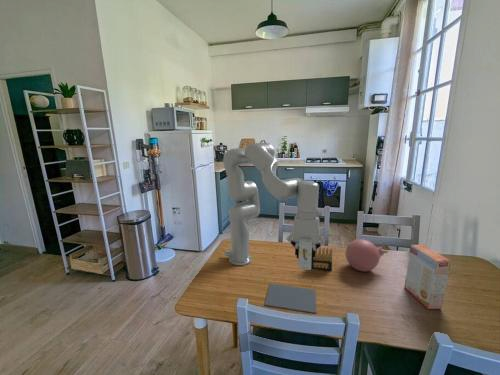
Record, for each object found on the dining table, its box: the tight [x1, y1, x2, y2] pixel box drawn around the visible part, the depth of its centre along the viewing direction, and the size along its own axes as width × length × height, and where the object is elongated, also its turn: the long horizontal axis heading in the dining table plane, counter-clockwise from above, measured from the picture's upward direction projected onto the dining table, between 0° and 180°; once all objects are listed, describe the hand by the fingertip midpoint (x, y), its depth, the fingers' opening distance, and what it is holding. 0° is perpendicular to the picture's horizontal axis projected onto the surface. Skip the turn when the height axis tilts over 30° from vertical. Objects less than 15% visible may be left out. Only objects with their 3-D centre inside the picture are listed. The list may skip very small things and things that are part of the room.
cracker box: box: [404, 244, 452, 310], centre depth 98 cm, size 14×6×21 cm, turn 2°
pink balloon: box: [345, 238, 388, 272], centre depth 120 cm, size 15×20×15 cm
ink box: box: [298, 239, 312, 271], centre depth 95 cm, size 9×5×12 cm, turn 167°
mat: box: [264, 283, 317, 314], centre depth 101 cm, size 20×14×1 cm
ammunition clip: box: [311, 247, 333, 272], centre depth 120 cm, size 11×2×12 cm, turn 79°
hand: (304, 257), depth 95 cm, fingers closed on ink box, 5 cm apart
